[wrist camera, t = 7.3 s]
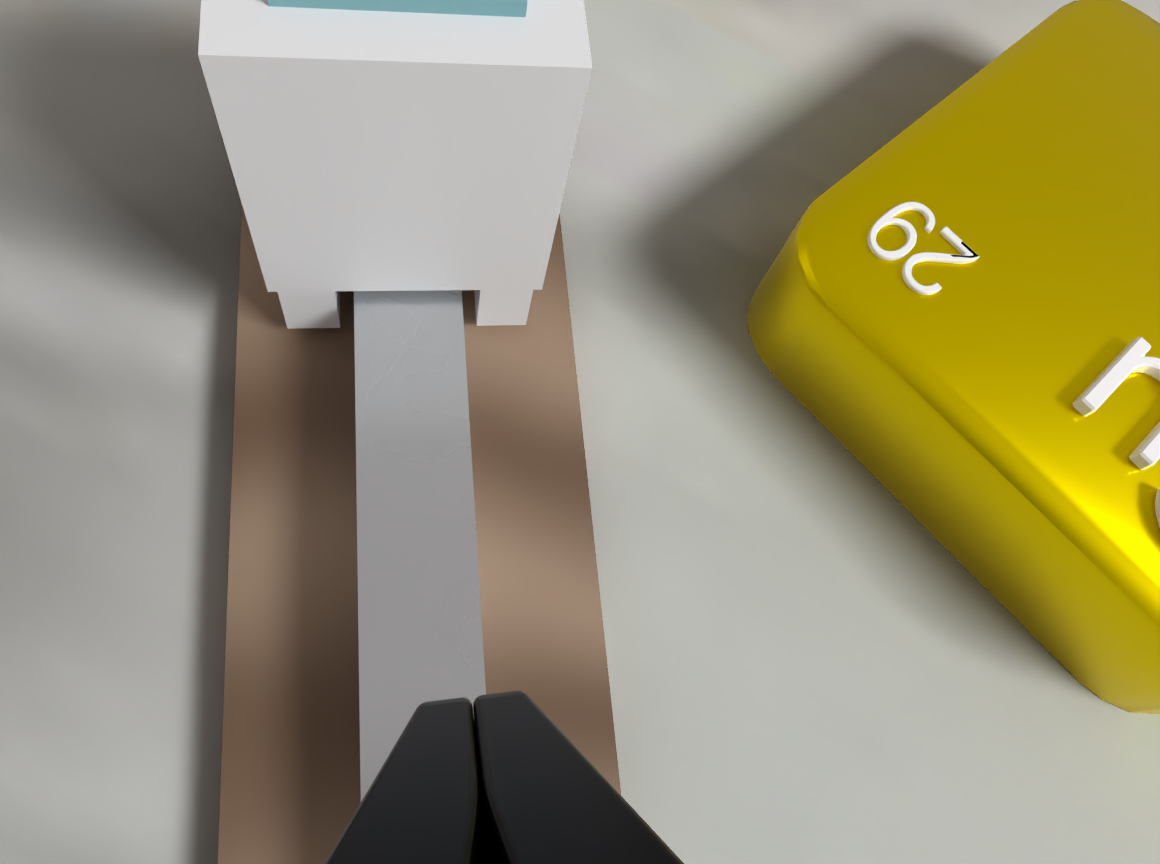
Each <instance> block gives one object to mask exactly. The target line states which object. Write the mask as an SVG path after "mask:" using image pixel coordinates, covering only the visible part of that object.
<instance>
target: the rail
mask: <svg viewBox="0 0 1160 864" xmlns="http://www.w3.org/2000/svg"><path fill="white" fill-rule="evenodd" d="M354 345H355V418H356V492H357V565H358V638H359V711H360V784H361V801H362V800H363V798H364V796H365V795H366V793H367V791H368V790H369V788H370V786H371V785H372V783H373V781H374V779H375V778H376V776H377V774H378V773H379V771H380V769H381V768H382V766H383V764H384V763H385V761H386V759H387V758H388V756H389V754H390V752H391V751H392V749H393V747H394V746H395V744H396V742H397V741H398V739H399V737H400V736H401V734H402V732H403V730H404V729H405V727H406V725H407V724H408V722H409V720H410V719H411V717H412V715H413V714H414V712H415V710H416V709H417V707H418V706H419V705H420V704H422V703H424V702H427V701H435V700H444V699H452V698H460V697H465V698H467V699H469V700H470V701H471V703H472V707H473V702H474V700H475V698H477V697H478V696H480V695H485V694H486V685H485V669H484V652H483V635H482V619H481V602H480V586H479V569H478V553H477V536H476V519H475V503H474V486H473V470H472V453H471V436H470V420H469V403H468V387H467V370H466V353H465V337H464V320H463V304H462V290H434V291H354ZM473 716H474V713H473Z"/></svg>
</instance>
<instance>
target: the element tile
mask: <svg viewBox="0 0 1160 864" xmlns="http://www.w3.org/2000/svg"><path fill="white" fill-rule="evenodd" d="M748 332H749V335H750V337H751V339H752V341H753V344H754V346H755V348H756V350H757V353H758V355H759V357H760V358H761V359H762V361H763V362H764V363H765V365H766V366H767V367H768V369H769V370H770V371H771V373H772V374H773V375H774V376H775V377H776V378H777V379H778V380H779V381H780V382H781V383H782V384H783V385H784V386H785V387H786V388H787V389H788V390H789V391H790V392H791V393H792V394H793V395H794V396H795V397H796V398H797V399H798V400H799V401H800V402H801V403H802V404H803V405H804V406H805V407H806V408H807V409H808V410H809V411H810V412H811V413H812V414H813V415H814V416H815V417H816V418H817V419H818V420H819V421H820V422H821V423H822V424H823V425H824V426H825V427H826V428H827V429H828V430H829V431H830V432H831V433H832V434H833V435H834V436H835V437H836V438H837V439H838V440H839V441H840V442H841V443H842V444H843V445H844V446H845V447H846V448H847V449H848V450H849V451H850V452H851V453H852V454H853V455H854V456H855V457H856V458H857V459H858V460H859V461H860V462H861V463H862V464H863V465H864V466H865V467H866V468H867V469H868V470H869V471H870V472H871V473H872V474H873V475H874V476H875V477H876V478H877V479H878V480H879V482H880V483H881V484H882V485H883V486H884V487H885V488H886V489H887V490H888V491H889V492H890V493H891V494H892V495H893V496H894V497H895V498H896V499H897V500H898V501H899V502H900V503H901V504H902V505H903V506H904V507H905V508H906V509H907V510H908V511H909V512H910V513H911V514H912V515H913V516H914V517H915V518H916V519H917V520H918V521H919V522H920V523H921V524H922V525H923V526H924V527H925V528H926V529H927V530H928V531H929V532H930V533H931V534H932V535H933V536H934V537H935V538H936V539H937V540H938V541H939V542H940V543H941V544H942V545H943V546H944V547H945V548H946V549H947V550H948V551H949V552H950V553H951V554H952V555H953V556H954V557H955V558H956V559H957V560H958V561H959V562H960V563H961V564H962V565H963V566H964V567H965V568H966V569H967V570H968V571H969V572H970V573H971V574H972V575H973V576H974V577H975V578H976V579H977V580H978V581H979V582H980V583H981V584H982V585H983V586H984V587H985V588H986V589H987V590H988V591H989V592H990V593H991V594H992V595H993V596H994V597H995V598H996V599H997V600H998V601H999V602H1000V603H1001V604H1002V605H1003V606H1004V607H1005V608H1006V609H1007V610H1008V611H1009V612H1010V613H1011V614H1012V615H1013V616H1014V617H1015V618H1016V619H1017V620H1018V621H1019V622H1020V623H1021V624H1022V625H1023V626H1024V627H1025V628H1026V629H1027V630H1028V631H1029V632H1030V633H1031V634H1032V635H1033V636H1034V637H1035V638H1036V639H1037V640H1038V641H1039V642H1040V643H1041V644H1042V645H1043V646H1044V647H1045V648H1046V649H1047V650H1048V651H1049V652H1050V653H1051V654H1052V655H1053V656H1054V657H1055V658H1056V659H1057V660H1058V661H1059V662H1060V663H1061V664H1062V665H1063V666H1064V667H1065V668H1066V669H1067V670H1068V671H1069V672H1070V673H1071V674H1072V675H1073V676H1074V677H1075V678H1076V679H1077V680H1078V681H1079V682H1080V683H1081V684H1083V685H1084V686H1085V687H1086V688H1088V689H1089V690H1090V691H1091V692H1093V693H1094V694H1095V695H1097V696H1098V697H1099V698H1100V699H1102V700H1104V701H1106V702H1108V703H1111V704H1113V705H1115V706H1117V707H1119V708H1121V709H1123V710H1125V711H1127V712H1132V713H1148V714H1159V713H1160V23H1158V22H1157V21H1155V20H1154V19H1152V18H1151V17H1149V16H1148V15H1146V14H1145V13H1143V12H1141V11H1140V10H1138V9H1136V8H1134V7H1132V6H1131V5H1129V4H1127V3H1125V2H1123V1H1121V0H1077V1H1074V2H1071V3H1069V4H1067V5H1065V6H1063V7H1061V8H1060V9H1058V10H1057V11H1056V12H1054V13H1053V14H1052V15H1051V16H1049V17H1048V18H1047V19H1045V20H1044V21H1043V22H1042V23H1040V24H1039V25H1038V26H1036V27H1035V28H1034V29H1033V30H1031V31H1030V32H1029V33H1028V34H1026V35H1025V36H1024V37H1022V38H1021V39H1020V40H1019V41H1017V42H1016V43H1015V44H1013V45H1012V46H1011V47H1010V48H1008V49H1007V50H1006V51H1004V52H1003V53H1002V54H1001V55H999V56H998V57H997V58H996V59H994V60H993V61H992V62H990V63H989V64H988V65H987V66H985V67H984V68H983V69H981V70H980V71H979V72H978V73H976V74H975V75H974V76H973V77H971V78H970V79H969V80H967V81H966V82H965V83H964V84H962V85H961V86H960V87H958V88H957V89H956V90H955V91H953V92H952V93H951V94H949V95H948V96H947V97H946V98H944V99H943V100H942V101H941V102H939V103H938V104H937V105H935V106H934V107H933V108H932V109H930V110H929V111H928V112H926V113H925V114H924V115H923V116H921V117H920V118H919V119H918V120H916V121H915V122H914V123H912V124H911V125H910V126H909V127H907V128H906V129H905V130H903V131H902V132H901V133H900V134H898V135H897V136H896V137H895V138H893V139H892V140H891V141H889V142H888V143H887V144H886V145H884V146H883V147H882V148H880V149H879V150H878V151H877V152H875V153H874V154H873V155H871V156H870V157H869V158H868V159H866V160H865V161H864V162H863V163H861V164H860V165H859V166H857V167H856V168H855V169H854V170H852V171H851V172H850V173H848V174H847V175H846V176H845V177H843V178H842V179H841V180H840V181H838V182H837V183H836V184H834V185H833V186H832V187H831V188H829V189H828V190H827V191H825V192H824V193H823V194H822V195H820V196H819V197H818V198H816V199H815V200H814V201H813V202H812V203H811V204H810V205H809V207H808V208H807V210H806V211H805V212H804V214H803V215H802V217H801V218H800V220H799V222H798V223H797V225H796V226H795V228H794V230H793V231H792V233H791V234H790V236H789V238H788V239H787V241H786V242H785V244H784V245H783V247H782V249H781V250H780V252H779V253H778V255H777V257H776V258H775V260H774V261H773V263H772V265H771V266H770V268H769V269H768V271H767V273H766V274H765V276H764V277H763V279H762V280H761V282H760V284H759V285H758V287H757V289H756V291H755V293H754V296H753V298H752V300H751V302H750V305H749V307H748Z"/></svg>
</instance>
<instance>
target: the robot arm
mask: <svg viewBox="0 0 1160 864" xmlns="http://www.w3.org/2000/svg"><path fill="white" fill-rule="evenodd" d="M473 713H474V716H473ZM325 864H684V863H683V862H682V861H681V860H680V859H679V858H678V857H677V856H676V854H675V853H674V852H673V851H672V850H671V849H670V848H669V847H668V846H667V845H666V844H665V843H664V842H663V840H662V839H661V838H660V837H659V836H658V835H657V834H656V833H655V832H654V831H653V830H652V829H651V828H650V826H649V825H648V824H647V823H646V822H645V821H644V820H643V819H642V818H641V817H640V816H639V815H638V814H637V812H636V811H635V810H634V809H633V808H632V807H631V806H630V805H629V804H628V803H627V802H626V801H625V800H624V798H623V797H622V796H621V795H620V794H619V793H618V792H617V791H616V790H615V789H614V788H613V787H612V786H611V784H610V783H609V782H608V781H607V780H606V779H605V778H604V777H603V776H602V775H601V774H600V773H599V772H598V770H597V769H596V768H595V767H594V766H593V765H592V764H591V763H590V762H589V761H588V760H587V759H586V758H585V756H584V755H583V754H582V753H581V752H580V751H579V750H578V749H577V748H576V747H575V746H574V745H573V744H572V742H571V741H570V740H569V739H568V738H567V737H566V736H565V735H564V734H563V733H562V732H561V731H560V730H559V728H558V727H557V726H556V725H555V724H554V723H553V722H552V721H551V720H550V719H549V718H548V717H547V716H546V714H545V713H544V712H543V711H542V710H541V709H540V708H539V707H538V706H537V705H536V704H535V703H534V702H533V700H532V699H531V698H530V697H529V696H528V695H527V694H526V693H524V692H522V691H510V692H501V693H493V694H485V695H480V696H478V697H477V698H475V700H474V702H473V707H472V703H471V701H470V700H469V699H467V698H465V697H460V698H452V699H444V700H435V701H427V702H424V703H422V704H420V705H419V706H418V707H417V709H416V710H415V712H414V714H413V715H412V717H411V719H410V720H409V722H408V724H407V725H406V727H405V729H404V730H403V732H402V734H401V736H400V737H399V739H398V741H397V742H396V744H395V746H394V747H393V749H392V751H391V752H390V754H389V756H388V758H387V759H386V761H385V763H384V764H383V766H382V768H381V769H380V771H379V773H378V774H377V776H376V778H375V779H374V781H373V783H372V785H371V786H370V788H369V790H368V791H367V793H366V795H365V796H364V798H363V800H362V801H361V803H360V805H359V806H358V808H357V810H356V812H355V813H354V815H353V817H352V818H351V820H350V822H349V823H348V825H347V827H346V828H345V830H344V832H343V834H342V835H341V837H340V839H339V840H338V842H337V844H336V845H335V847H334V849H333V850H332V852H331V854H330V855H329V857H328V859H327V861H326V862H325Z"/></svg>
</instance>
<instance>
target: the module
mask: <svg viewBox="0 0 1160 864" xmlns="http://www.w3.org/2000/svg"><path fill="white" fill-rule="evenodd" d="M198 56H199V60H200V63H201V67H202V70H203V73H204V77H205V80H206V84H207V87H208V90H209V94H210V97H211V101H212V104H213V107H214V111H215V114H216V118H217V121H218V124H219V128H220V131H221V135H222V138H223V141H224V145H225V148H226V152H227V155H228V158H229V162H230V165H231V169H232V172H233V175H234V179H235V182H236V186H237V189H238V192H239V196H240V199H241V203H242V206H243V209H244V213H245V216H246V220H247V223H248V226H249V230H250V233H251V237H252V240H253V243H254V247H255V250H256V254H257V257H258V260H259V264H260V267H261V271H262V274H263V277H264V281H265V284H266V288H267V291H268V292H278V296H279V300H280V303H281V307H282V310H283V314H284V318H285V321H286V325H287V329H295V328H340V291H434V290H474V295H475V310H476V326H497V325H526V322H527V317H528V313H529V308H530V303H531V298H532V294H533V290H542V287H543V283H544V279H545V274H546V270H547V265H548V261H549V257H550V252H551V248H552V243H553V239H554V235H555V230H556V226H557V221H558V217H559V213H560V208H561V204H562V199H563V195H564V191H565V186H566V182H567V177H568V173H569V169H570V164H571V160H572V155H573V151H574V147H575V142H576V138H577V133H578V129H579V125H580V120H581V116H582V111H583V107H584V103H585V98H586V94H587V89H588V85H589V81H590V76H591V72H592V61H591V54H590V46H589V38H588V30H587V23H586V15H585V7H584V0H201V13H200V30H199V47H198Z"/></svg>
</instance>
